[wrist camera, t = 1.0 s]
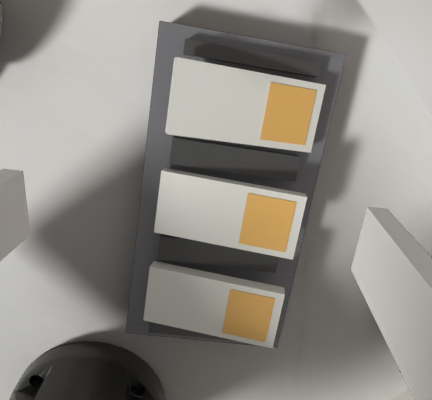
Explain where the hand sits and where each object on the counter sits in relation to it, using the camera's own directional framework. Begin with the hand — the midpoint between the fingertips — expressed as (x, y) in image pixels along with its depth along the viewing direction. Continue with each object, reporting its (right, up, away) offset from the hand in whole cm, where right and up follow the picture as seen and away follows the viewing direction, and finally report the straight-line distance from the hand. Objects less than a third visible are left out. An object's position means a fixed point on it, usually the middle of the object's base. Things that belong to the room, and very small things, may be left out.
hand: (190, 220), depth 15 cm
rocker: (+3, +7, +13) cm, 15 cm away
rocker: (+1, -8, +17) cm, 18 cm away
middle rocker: (+2, 0, +15) cm, 15 cm away
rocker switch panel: (+2, +1, +19) cm, 20 cm away
